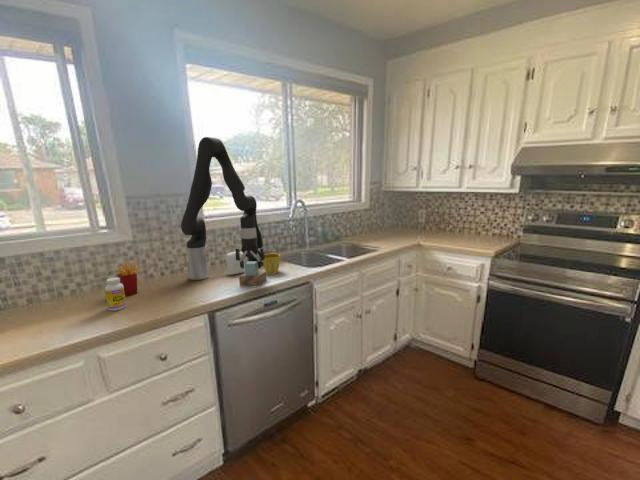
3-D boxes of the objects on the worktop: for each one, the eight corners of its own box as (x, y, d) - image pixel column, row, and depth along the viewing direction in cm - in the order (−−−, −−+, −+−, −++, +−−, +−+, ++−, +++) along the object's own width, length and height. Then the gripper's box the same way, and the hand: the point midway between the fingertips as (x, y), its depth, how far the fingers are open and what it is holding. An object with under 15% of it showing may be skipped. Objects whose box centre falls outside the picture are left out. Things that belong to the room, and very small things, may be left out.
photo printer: (244, 270, 186) (242, 249, 183) (246, 272, 182) (245, 251, 180) (226, 273, 180) (224, 252, 178) (228, 275, 177) (226, 253, 174)
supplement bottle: (113, 312, 132) (108, 282, 130) (105, 309, 136) (100, 280, 133) (129, 306, 138) (125, 277, 135) (121, 303, 141) (117, 275, 139)
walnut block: (239, 286, 160) (239, 276, 159) (249, 279, 170) (248, 270, 169) (258, 287, 158) (257, 277, 157) (266, 280, 167) (266, 271, 166)
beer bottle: (244, 264, 199) (240, 211, 192) (252, 260, 209) (249, 209, 202) (259, 265, 196) (256, 211, 189) (267, 260, 206) (264, 209, 199)
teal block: (245, 275, 160) (244, 264, 159) (248, 272, 165) (247, 261, 164) (255, 275, 160) (254, 264, 159) (258, 272, 165) (257, 261, 164)
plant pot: (279, 275, 175) (278, 257, 173) (260, 275, 176) (259, 258, 174) (282, 269, 186) (281, 253, 184) (264, 270, 186) (263, 253, 184)
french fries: (124, 297, 149) (119, 266, 146) (118, 293, 154) (113, 263, 151) (144, 292, 155) (140, 261, 152) (138, 288, 161) (134, 259, 158)
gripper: (232, 238, 156) (234, 270, 159) (261, 237, 155) (263, 270, 158) (237, 235, 163) (239, 266, 166) (264, 235, 162) (266, 266, 165)
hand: (251, 268), depth 162 cm, fingers open, 8 cm apart
